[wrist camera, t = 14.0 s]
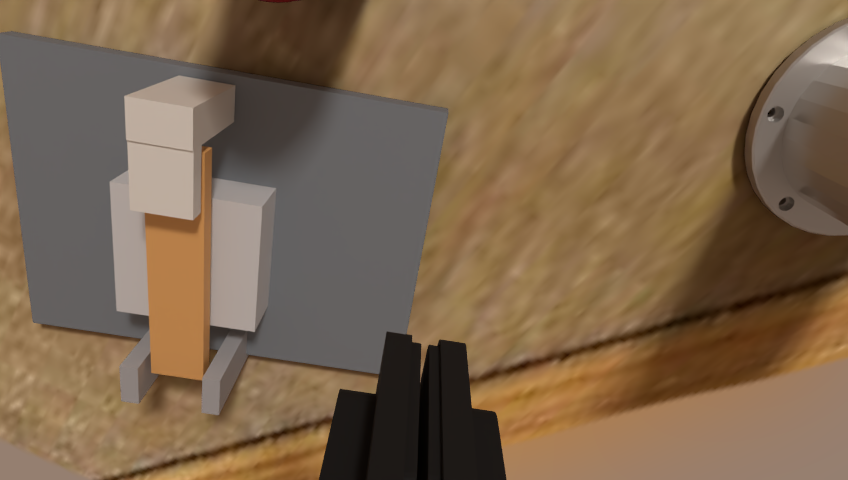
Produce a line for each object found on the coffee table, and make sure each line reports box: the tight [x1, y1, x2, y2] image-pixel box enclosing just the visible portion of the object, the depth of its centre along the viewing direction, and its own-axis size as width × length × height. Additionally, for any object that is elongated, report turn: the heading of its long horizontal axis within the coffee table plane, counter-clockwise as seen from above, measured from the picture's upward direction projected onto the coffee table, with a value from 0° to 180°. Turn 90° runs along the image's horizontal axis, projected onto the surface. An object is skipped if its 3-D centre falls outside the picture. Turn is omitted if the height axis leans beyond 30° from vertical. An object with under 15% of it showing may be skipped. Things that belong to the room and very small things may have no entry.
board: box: [0, 31, 448, 415], centre depth 33 cm, size 24×18×6 cm
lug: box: [124, 75, 235, 220], centre depth 29 cm, size 3×6×6 cm, turn 170°
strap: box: [145, 146, 212, 380], centre depth 31 cm, size 3×14×1 cm, turn 170°
